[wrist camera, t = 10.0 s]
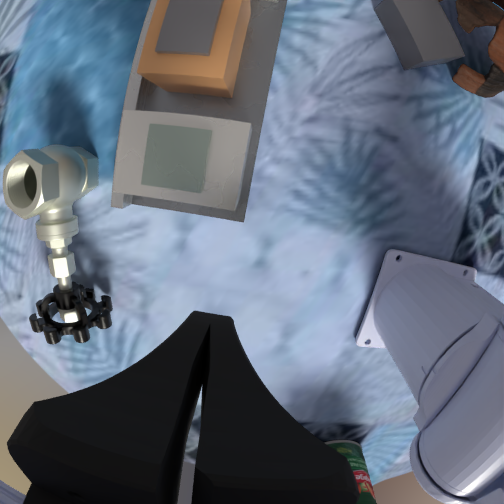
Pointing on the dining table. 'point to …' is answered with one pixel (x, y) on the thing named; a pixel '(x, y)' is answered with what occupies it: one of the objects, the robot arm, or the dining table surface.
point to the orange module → (195, 45)
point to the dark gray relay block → (419, 32)
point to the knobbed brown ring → (499, 49)
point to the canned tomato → (356, 468)
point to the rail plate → (231, 106)
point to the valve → (57, 232)
